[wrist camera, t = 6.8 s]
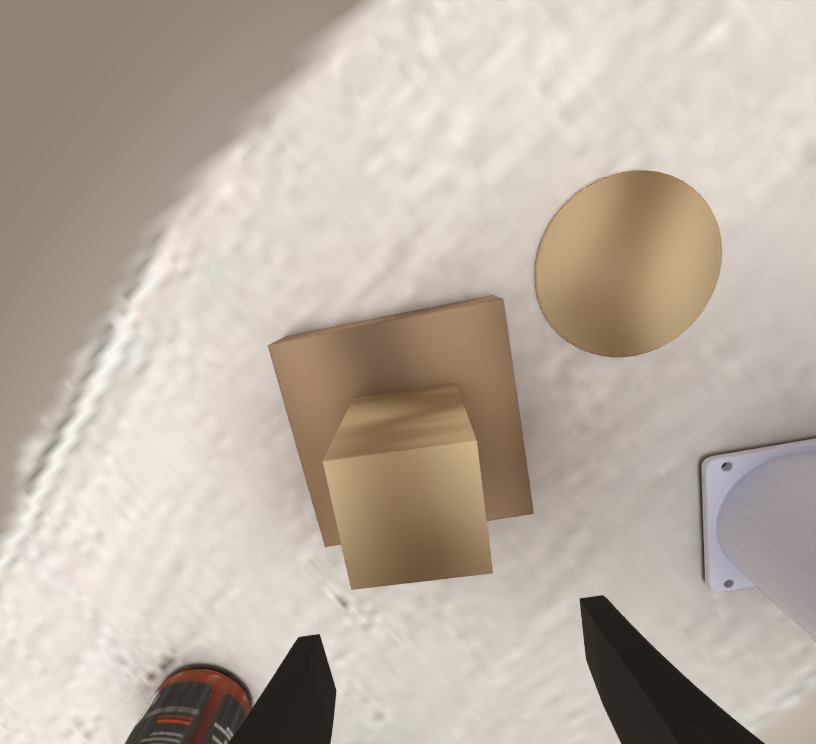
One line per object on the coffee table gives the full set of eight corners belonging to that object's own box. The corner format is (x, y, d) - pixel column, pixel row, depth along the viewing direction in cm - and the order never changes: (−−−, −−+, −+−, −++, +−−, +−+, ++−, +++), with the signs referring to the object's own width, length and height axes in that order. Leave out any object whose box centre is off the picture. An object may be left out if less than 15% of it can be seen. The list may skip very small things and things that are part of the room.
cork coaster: (711, 154, 17) (720, 150, 17) (715, 337, 19) (723, 338, 19) (524, 195, 18) (526, 193, 17) (545, 369, 20) (549, 371, 19)
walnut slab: (490, 294, 19) (503, 299, 17) (518, 480, 22) (533, 513, 19) (289, 334, 20) (267, 345, 17) (336, 511, 22) (325, 546, 20)
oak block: (456, 383, 17) (476, 440, 12) (468, 477, 19) (493, 573, 13) (353, 398, 18) (322, 461, 12) (371, 490, 19) (351, 589, 13)
